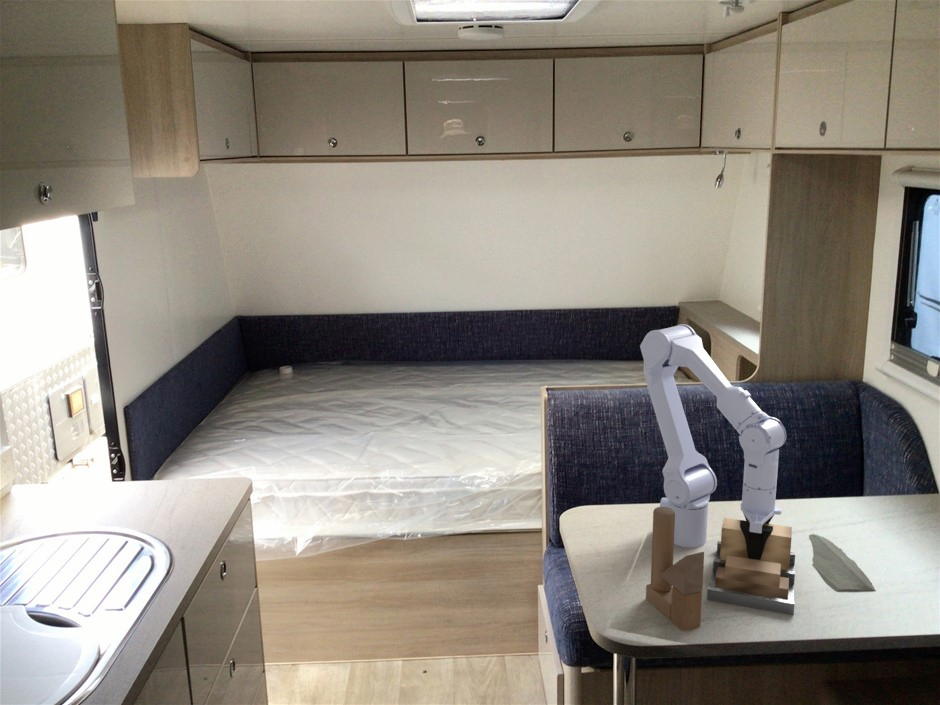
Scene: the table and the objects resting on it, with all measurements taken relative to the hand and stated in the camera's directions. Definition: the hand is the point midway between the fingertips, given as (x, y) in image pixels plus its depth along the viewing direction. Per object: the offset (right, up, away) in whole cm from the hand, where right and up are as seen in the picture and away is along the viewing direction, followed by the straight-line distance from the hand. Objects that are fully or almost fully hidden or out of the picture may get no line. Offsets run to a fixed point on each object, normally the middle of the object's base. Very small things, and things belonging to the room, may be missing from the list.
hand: (755, 552), depth 147 cm
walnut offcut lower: (-3, -5, -7) cm, 9 cm away
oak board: (0, -3, +1) cm, 3 cm away
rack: (-2, -5, -4) cm, 7 cm away
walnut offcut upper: (-3, -3, -8) cm, 9 cm away
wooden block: (-19, -8, -13) cm, 24 cm away
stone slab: (+15, -4, +3) cm, 15 cm away
